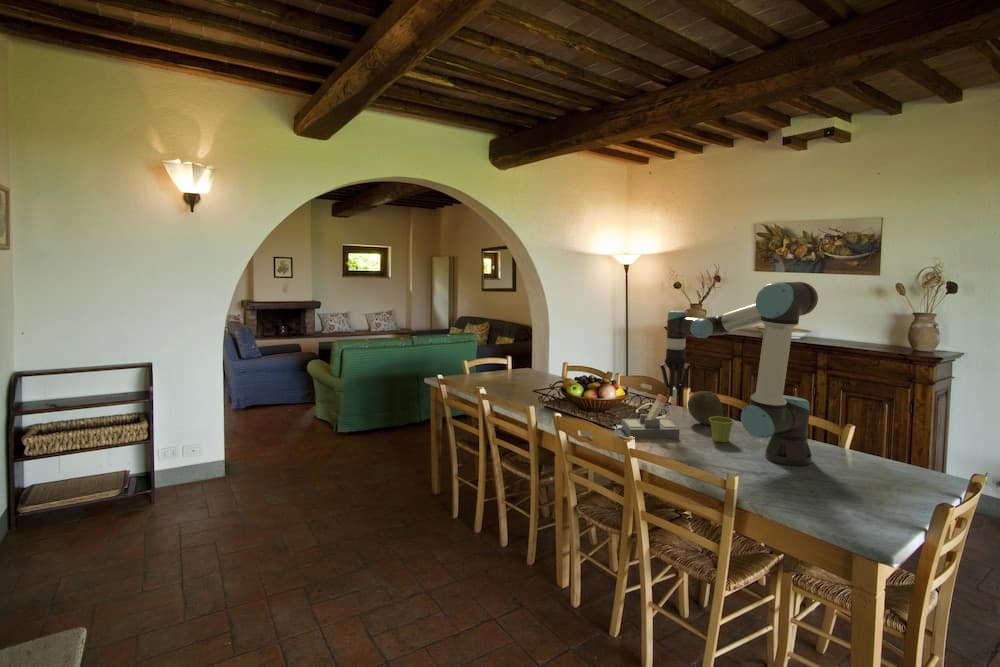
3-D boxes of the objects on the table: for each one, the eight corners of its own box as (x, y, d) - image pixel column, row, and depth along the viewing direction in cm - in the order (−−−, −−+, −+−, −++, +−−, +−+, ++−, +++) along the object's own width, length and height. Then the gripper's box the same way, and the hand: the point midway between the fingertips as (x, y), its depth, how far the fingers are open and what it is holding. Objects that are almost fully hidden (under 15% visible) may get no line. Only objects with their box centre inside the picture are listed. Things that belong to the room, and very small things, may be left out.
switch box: (679, 438, 229) (679, 422, 228) (630, 439, 229) (630, 422, 228) (667, 427, 245) (667, 412, 244) (621, 427, 244) (621, 412, 244)
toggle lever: (652, 426, 234) (667, 399, 232) (647, 423, 233) (662, 396, 232) (649, 422, 239) (664, 396, 237) (644, 419, 239) (658, 393, 237)
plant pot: (717, 444, 221) (718, 423, 220) (703, 437, 230) (704, 417, 229) (737, 443, 223) (739, 421, 222) (723, 436, 232) (724, 415, 231)
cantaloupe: (712, 419, 257) (714, 387, 255) (727, 428, 243) (728, 394, 241) (682, 420, 256) (683, 388, 254) (695, 429, 242) (696, 395, 240)
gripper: (688, 346, 236) (686, 401, 239) (657, 346, 236) (655, 401, 239) (694, 349, 229) (692, 406, 232) (662, 349, 229) (660, 406, 232)
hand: (673, 403), depth 235 cm, fingers closed
